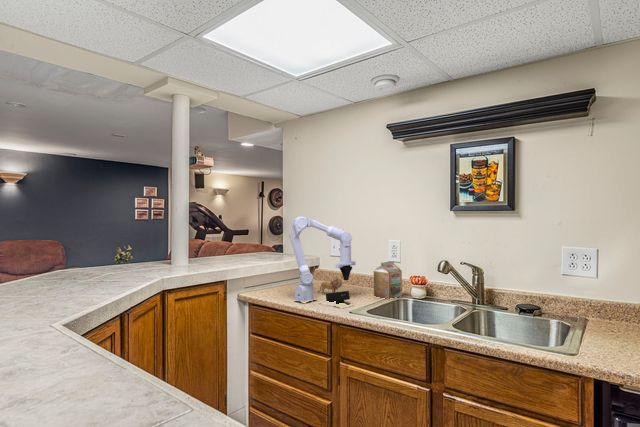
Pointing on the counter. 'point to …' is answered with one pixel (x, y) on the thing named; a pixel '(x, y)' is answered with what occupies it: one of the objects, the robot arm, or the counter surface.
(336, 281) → the lion figurine
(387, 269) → the milk carton
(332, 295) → the digital camera
